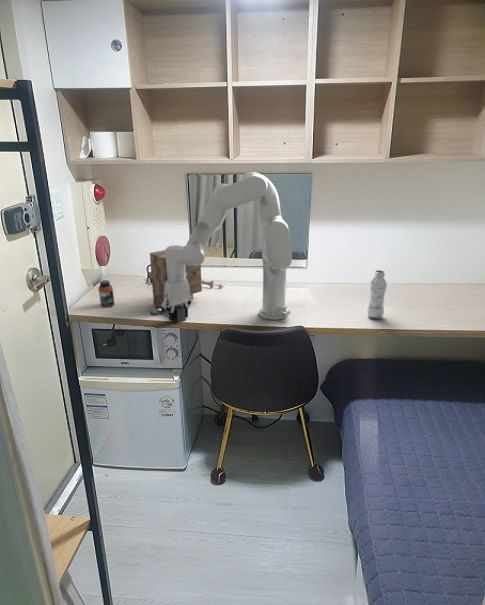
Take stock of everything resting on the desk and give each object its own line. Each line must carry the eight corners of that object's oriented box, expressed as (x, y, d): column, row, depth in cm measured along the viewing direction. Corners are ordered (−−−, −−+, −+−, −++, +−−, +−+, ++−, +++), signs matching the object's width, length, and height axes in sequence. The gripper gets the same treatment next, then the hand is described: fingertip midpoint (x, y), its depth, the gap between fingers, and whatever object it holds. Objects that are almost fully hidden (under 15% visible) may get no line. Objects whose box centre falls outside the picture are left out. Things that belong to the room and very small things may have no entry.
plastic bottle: (373, 321, 188) (379, 275, 180) (363, 315, 193) (368, 270, 186) (386, 319, 190) (392, 273, 183) (375, 313, 196) (381, 268, 188)
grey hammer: (185, 320, 189) (185, 308, 187) (177, 323, 187) (176, 310, 185) (162, 308, 202) (162, 296, 200) (155, 310, 199) (154, 298, 197)
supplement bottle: (107, 302, 209) (104, 278, 205) (117, 304, 206) (114, 280, 202) (97, 306, 204) (94, 282, 200) (108, 308, 201) (105, 284, 197)
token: (164, 313, 196) (163, 308, 195) (153, 316, 193) (153, 311, 192) (158, 310, 200) (157, 304, 199) (148, 313, 197) (147, 307, 196)
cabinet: (203, 303, 207) (201, 251, 198) (169, 313, 196) (166, 259, 187) (187, 295, 216) (184, 246, 208) (153, 304, 205) (149, 252, 197)
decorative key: (223, 294, 226) (185, 285, 229) (224, 293, 227) (186, 284, 230) (225, 281, 224) (186, 273, 226) (226, 281, 225) (187, 272, 227)
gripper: (189, 270, 190) (190, 310, 197) (152, 279, 180) (156, 321, 186) (199, 274, 185) (201, 316, 191) (162, 283, 174) (165, 327, 181)
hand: (178, 318), depth 189 cm, fingers open, 5 cm apart
